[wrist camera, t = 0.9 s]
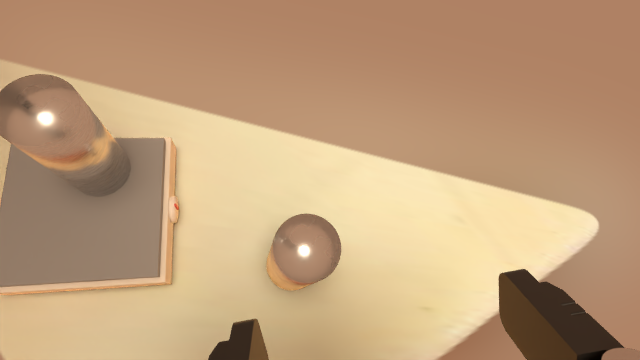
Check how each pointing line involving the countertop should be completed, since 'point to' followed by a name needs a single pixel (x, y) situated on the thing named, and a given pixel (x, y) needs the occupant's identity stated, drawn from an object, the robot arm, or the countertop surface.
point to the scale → (88, 225)
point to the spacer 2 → (303, 252)
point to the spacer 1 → (62, 134)
